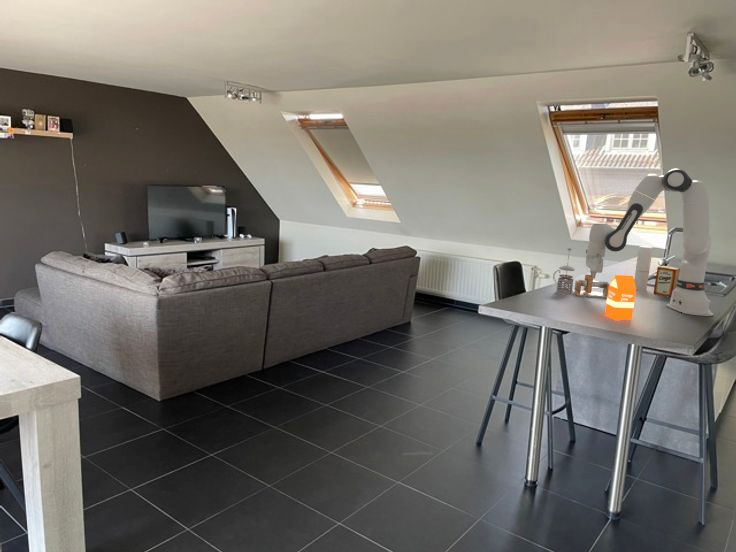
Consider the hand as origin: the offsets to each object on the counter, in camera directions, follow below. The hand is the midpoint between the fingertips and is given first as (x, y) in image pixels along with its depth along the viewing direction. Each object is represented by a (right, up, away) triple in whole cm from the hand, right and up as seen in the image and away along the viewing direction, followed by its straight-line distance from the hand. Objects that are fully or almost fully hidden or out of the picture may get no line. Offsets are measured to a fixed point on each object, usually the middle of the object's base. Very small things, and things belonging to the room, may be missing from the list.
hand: (592, 277), depth 294 cm
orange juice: (-7, -19, -46) cm, 50 cm away
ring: (-2, -7, +2) cm, 8 cm away
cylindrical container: (+38, -7, +26) cm, 46 cm away
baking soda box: (+45, -10, +12) cm, 48 cm away
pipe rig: (+1, -9, +2) cm, 9 cm away
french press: (-15, -9, +3) cm, 18 cm away
